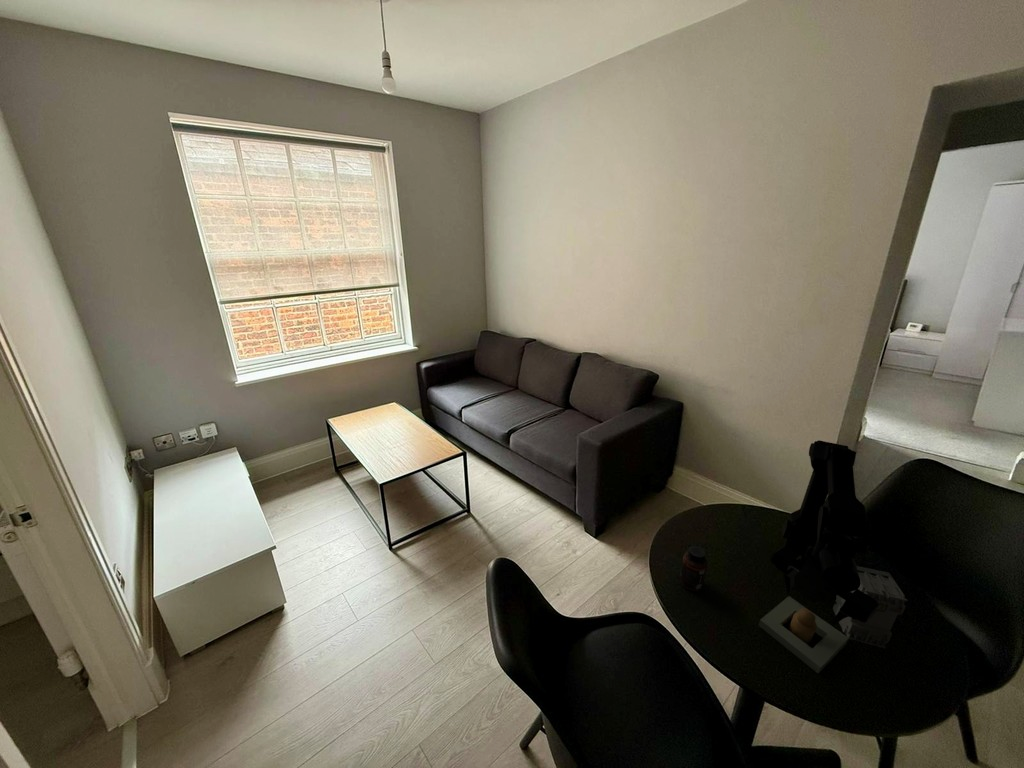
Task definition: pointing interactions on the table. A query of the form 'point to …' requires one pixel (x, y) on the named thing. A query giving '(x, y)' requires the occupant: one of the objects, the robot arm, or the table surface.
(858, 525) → the robot arm
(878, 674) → the table surface
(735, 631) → the table surface
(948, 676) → the table surface
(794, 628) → the tan stepped cylinder
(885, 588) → the circuit breaker
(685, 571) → the supplement bottle
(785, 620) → the collar
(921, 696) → the table surface
